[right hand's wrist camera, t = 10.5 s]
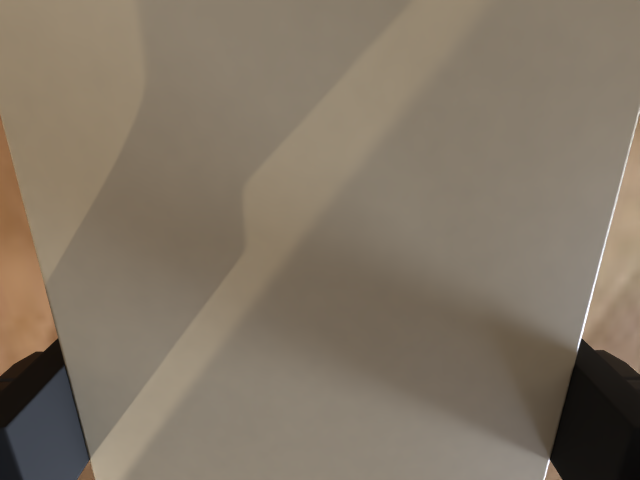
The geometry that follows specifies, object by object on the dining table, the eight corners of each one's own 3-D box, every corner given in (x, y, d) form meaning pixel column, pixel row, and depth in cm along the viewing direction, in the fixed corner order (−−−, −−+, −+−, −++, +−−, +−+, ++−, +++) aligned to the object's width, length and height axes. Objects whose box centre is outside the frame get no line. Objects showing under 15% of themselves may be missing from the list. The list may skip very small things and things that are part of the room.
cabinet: (153, -193, 13) (-275, -925, 4) (487, -193, 13) (912, -924, 4) (208, 321, 20) (106, 530, 10) (431, 322, 20) (533, 531, 10)
